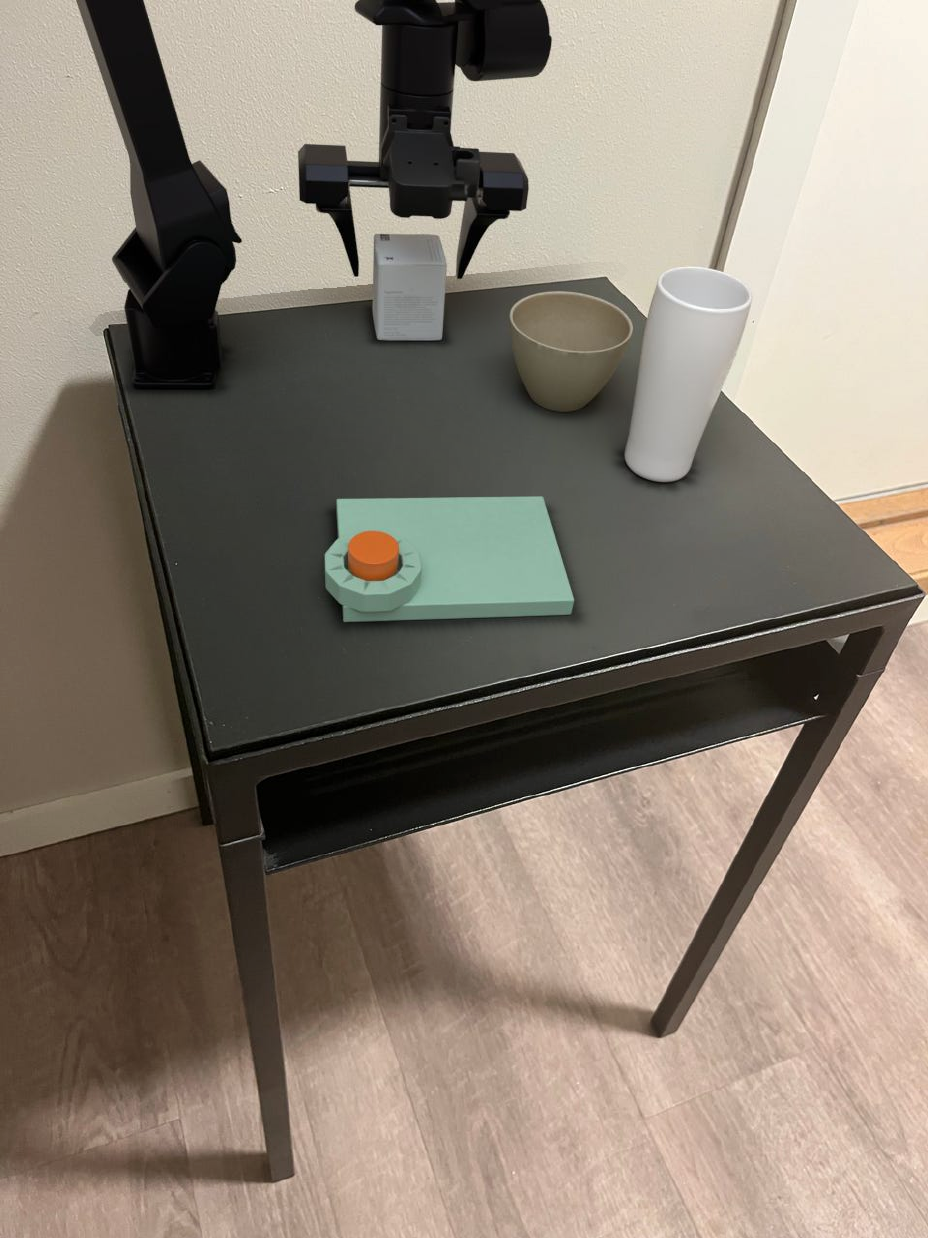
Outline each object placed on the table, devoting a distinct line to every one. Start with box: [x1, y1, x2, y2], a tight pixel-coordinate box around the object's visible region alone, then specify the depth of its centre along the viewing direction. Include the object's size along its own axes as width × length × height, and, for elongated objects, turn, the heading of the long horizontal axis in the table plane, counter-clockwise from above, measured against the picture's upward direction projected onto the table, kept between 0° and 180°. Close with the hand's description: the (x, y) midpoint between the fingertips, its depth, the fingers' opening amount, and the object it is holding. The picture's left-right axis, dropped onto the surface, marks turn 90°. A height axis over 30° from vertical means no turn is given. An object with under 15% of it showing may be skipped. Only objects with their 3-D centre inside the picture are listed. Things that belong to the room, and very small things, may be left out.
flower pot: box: [509, 290, 634, 413], centre depth 81 cm, size 10×10×7 cm
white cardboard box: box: [371, 233, 448, 341], centre depth 87 cm, size 6×6×7 cm
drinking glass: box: [624, 265, 753, 483], centre depth 72 cm, size 7×7×15 cm
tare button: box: [348, 531, 399, 581], centre depth 61 cm, size 3×3×2 cm
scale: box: [324, 495, 575, 623], centre depth 65 cm, size 16×12×3 cm
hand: (407, 275), depth 86 cm, fingers open, 9 cm apart
